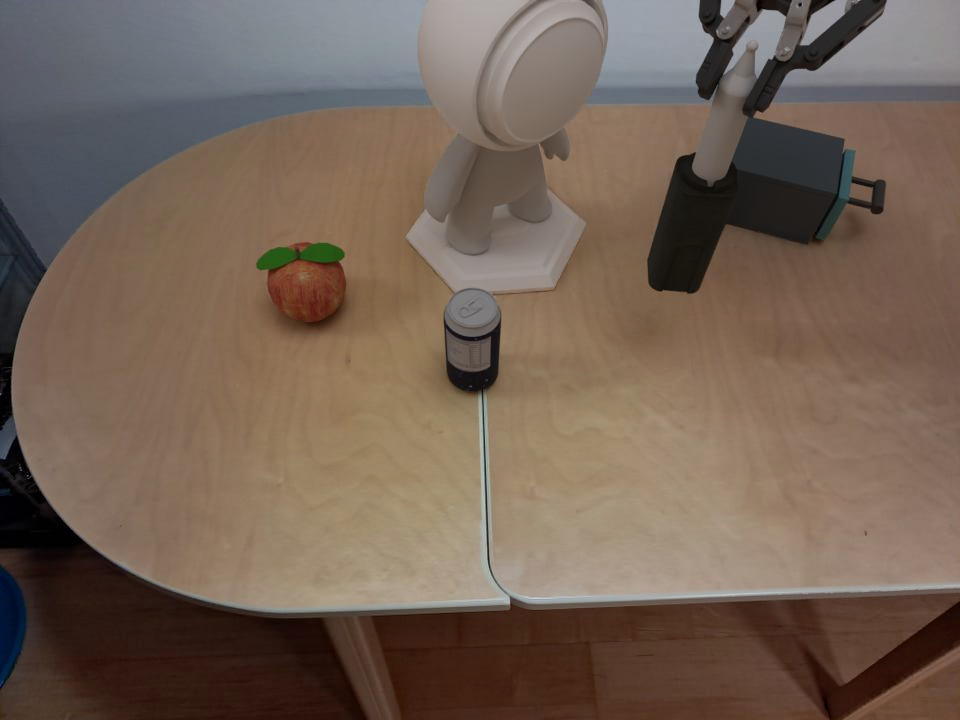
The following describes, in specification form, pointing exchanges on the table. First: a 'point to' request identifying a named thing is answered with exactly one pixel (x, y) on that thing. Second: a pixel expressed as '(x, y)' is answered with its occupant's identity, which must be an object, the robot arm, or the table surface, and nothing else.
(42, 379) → the table surface
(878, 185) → the drawer
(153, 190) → the table surface
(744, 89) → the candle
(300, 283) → the fruit
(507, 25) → the white toy figurine
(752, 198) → the dark grey drawer cabinet
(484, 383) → the beverage can
